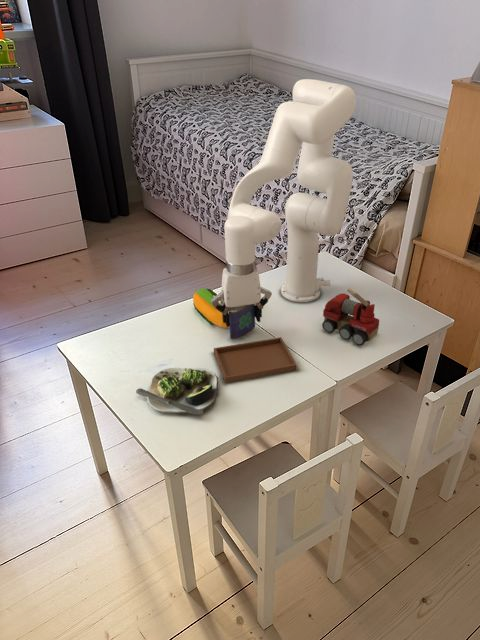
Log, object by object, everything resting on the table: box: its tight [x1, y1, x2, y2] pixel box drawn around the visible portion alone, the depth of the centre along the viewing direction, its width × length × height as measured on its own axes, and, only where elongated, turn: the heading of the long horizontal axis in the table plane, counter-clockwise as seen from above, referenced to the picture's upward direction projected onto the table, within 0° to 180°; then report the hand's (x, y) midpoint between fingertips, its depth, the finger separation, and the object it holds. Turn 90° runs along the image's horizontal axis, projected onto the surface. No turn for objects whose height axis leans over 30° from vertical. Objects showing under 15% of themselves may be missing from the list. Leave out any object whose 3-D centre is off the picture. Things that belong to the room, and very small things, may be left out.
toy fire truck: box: [321, 287, 380, 347], centre depth 150 cm, size 11×16×18 cm
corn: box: [192, 288, 230, 329], centre depth 157 cm, size 7×8×20 cm
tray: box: [213, 336, 298, 384], centre depth 143 cm, size 19×13×2 cm
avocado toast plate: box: [135, 367, 219, 416], centre depth 131 cm, size 19×18×5 cm
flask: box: [228, 304, 256, 340], centre depth 150 cm, size 9×3×11 cm, turn 138°
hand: (242, 321), depth 151 cm, fingers closed on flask, 8 cm apart
